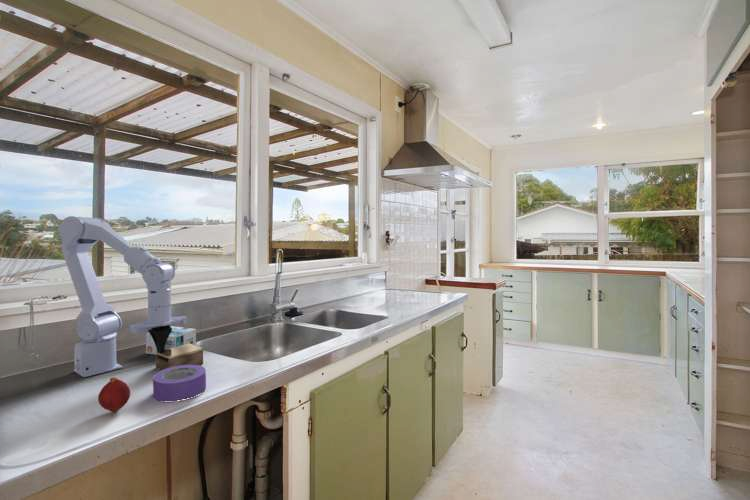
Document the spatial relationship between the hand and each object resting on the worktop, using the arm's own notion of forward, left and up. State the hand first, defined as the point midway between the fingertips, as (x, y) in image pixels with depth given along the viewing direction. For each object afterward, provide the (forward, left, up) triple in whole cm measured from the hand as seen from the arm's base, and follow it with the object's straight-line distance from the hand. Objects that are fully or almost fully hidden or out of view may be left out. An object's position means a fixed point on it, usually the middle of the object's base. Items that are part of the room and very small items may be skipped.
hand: (160, 352), depth 108 cm
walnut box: (+6, 0, -5) cm, 8 cm away
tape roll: (-3, -18, -6) cm, 19 cm away
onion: (-17, -17, -6) cm, 25 cm away
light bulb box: (+16, +18, -2) cm, 24 cm away
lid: (+6, 0, -1) cm, 6 cm away
